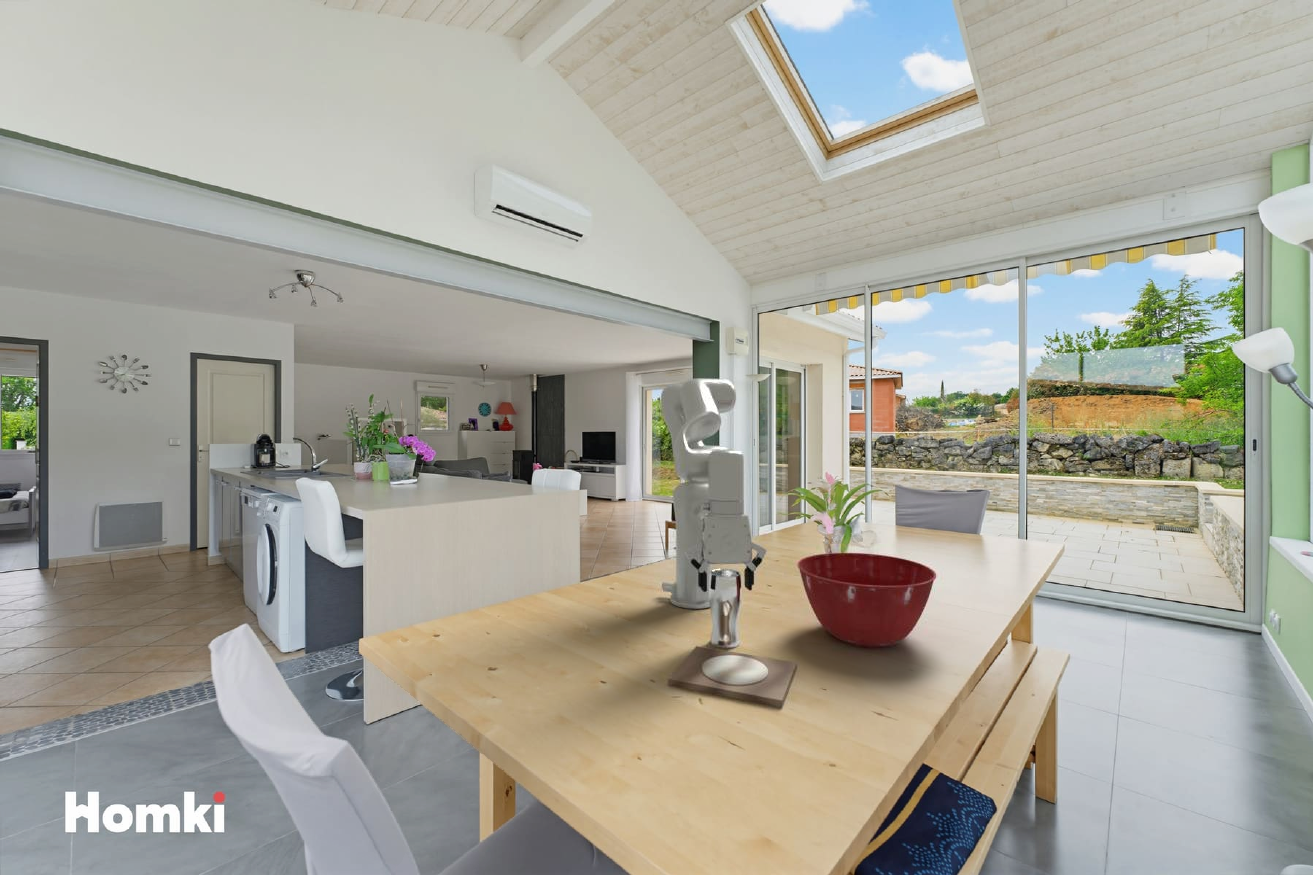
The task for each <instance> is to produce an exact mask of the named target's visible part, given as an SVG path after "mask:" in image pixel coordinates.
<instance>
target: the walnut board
mask: <svg viewBox="0 0 1313 875" xmlns="http://www.w3.org/2000/svg"><path fill="white" fill-rule="evenodd" d="M797 666H798V663H797V662H796V661H790V660H785V659H784V660H783V659H779V658H773V657H772V658H771V657H766V656H759V655H752V654H748V653H743V652H742V653H740V652H735V651H734V652H733V651H729V650H728V651H727V650H722V649H715V648H709V647H703V646H697V645H696V646H695V648H693V650H692V651H691V652H690V653H689V654H688V655H687V656H686V657H685V659H684V660H683V661H682V662H681V663H680V664H679V666H678V667H677V668H676V669H675V671H673V673H672V674H671V675H670V676H669V677H668V678H667V685H668V687H669V686H670V687H674V688H677V689H678V688H679V689H684V690H688V691H689V690H690V691H694V692H700V693H704V694H709V695H715V696H719V697H720V696H721V697H724V698H731V699H735V700H741V701H746V702H750V703H756V704H761V705H766V706H770V707H771V706H772V707H776V708H780V709H782V708H783V707H784V705H785V701H786V699H787V696H788V693H789V690H790V688H791V685H792V683H793V680H794V677H795V675H796V672H797V668H798V667H797Z"/></svg>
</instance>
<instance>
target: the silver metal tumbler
mask: <svg viewBox="0 0 1313 875" xmlns="http://www.w3.org/2000/svg"><path fill="white" fill-rule="evenodd" d="M742 595H743V586H742V573H741V571H739V570H735V569H731V568H717V569H712V571H710V579H709V604H710V607H709V609H710V615H711V622H712V630H711V631H712V632H711V637H710V645H712V646H714V647H717V648H719V649H732V648H737V647H738V646H740V639H739V638H740V637H739V633H738V632H739V631H738V624H739V616H740V612H741V608H742V607H741V604H742Z"/></svg>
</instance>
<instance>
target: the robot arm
mask: <svg viewBox="0 0 1313 875" xmlns="http://www.w3.org/2000/svg"><path fill="white" fill-rule="evenodd" d="M735 389H736V388H735V387H734V384H733V383H732V382H731V381H730V380H728V379H727V378H726V379H725V378H701V377H700V378H698V377H697V378H690V379H688V380H686V381H685V382H683V383H674V384H670V385H669V384H668V386H667V385H666V386H665V387H664V388H663V389H662V391H661V395H660V407H661V408H660V409H661V414H662V417H663V419H664V422H665V424H666V427H667V430H668V431H669V434H670V438H671V448H672V454H673V463H674V464H673V465H674V469H675V473H676V475H677V477H678V478H679V479H680V480H683V481H685V482H681V483H679V484H677V486H675V487H674V490H673V492H672V502H673V510H674V518H675V535H676V536H675V548H676V549H675V582H674V581H673V583H671V582H667V581H663V582H661V589H662V591H663V592H667V593H668V592H670V593H671V594H670V596H669V602H670V603H671V604H672V605H674V606H676V607H679V608H684V609H692V610H694V609H695V610H696V609H697V610H698V609H699V610H700V609H707V608H710V604H709V579H710V571H712V570H713V565H734V564H735V565H737V564H738V565H740V564H742V565H743V564H744V565H745V566H746V567H745V568H744V577H743V578H744V588H746V589H747V591H752V590H753V586H755V571H756V570H757V569H758V567H759V566H760V564H762V563H763V559H764V558H765V556H766V553H767V549H766V548H764V547H762V546H760V545H758V544H756V543H755V542H753V541H752V535H751V534H752V533H751V525H750V520H749V515H748V514H745V500H744V499H745V497H744V495H745V491H744V490H745V485H744V483H745V481H744V480H745V476H744V475H745V470H744V466H745V465H744V464H745V462H744V460H745V459H744V454H743V452H741V451H740V450H736V449H732V448H730V449H729V448H727V447H725V446H723V445H706V444H704V442H703V440H705V439H708V438H709V437H711V436H713V435H715V434H716V433H717V432H718V431H719V430H720V428H721V426H722V417H721V414H723V413H728V412H730V411H732V409H733V408H734V407H735V405H736V401H737V392H736V390H735ZM753 550H754V551H755V552H756V555H755V557H754V558H753Z"/></svg>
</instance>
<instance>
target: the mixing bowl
mask: <svg viewBox="0 0 1313 875" xmlns="http://www.w3.org/2000/svg"><path fill="white" fill-rule="evenodd" d="M796 566H797V567H798V569H799V572H800V578H801V580H802V585H803V588H804V591H805V593H806V594H805V595H806V596H807V599H808V601H809V602H808V603H809V604H810V606H811V608H812V610H813V612H814V615H815V617H816V619H817V621H818V622H819V624H820V625H821V626H822V627H823V629H825V630H826V631H827V632H828V633H829V634H830V635H832V636H833V637H835V638H836V639H837V640H840V641H842V642H844V643H845V644H850V645H852V646H853V645H854V646H858V647H863V648H885V647H890V646H893V645H895V644H897V643H898V642H901V641H903V640H904V639H905V638H906V637H908V636H909V635H910V634H911V633H912V631H913V630H914V629H915V627H916V625H917V624H918V622H919V620H920V618H921V617H922V614H923V612H924V610H925V608H926V605H927V604H928V601H929V597H930V595H931V591H932V588H933V584H934V581H935V580H936V578H937V572H936V571H935V570H933V569H932V568H930V567H929V566H926V565H925V564H922V563H919V562H917V561H913V560H910V559H905V558H903V557H902V558H901V557H896V556H890V555H883V554H874V553H861V552H832V553H831V552H827V553H819V554H814V555H810V556H805V557H803V558H802V559H800V560H799V561H797V564H796Z"/></svg>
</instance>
